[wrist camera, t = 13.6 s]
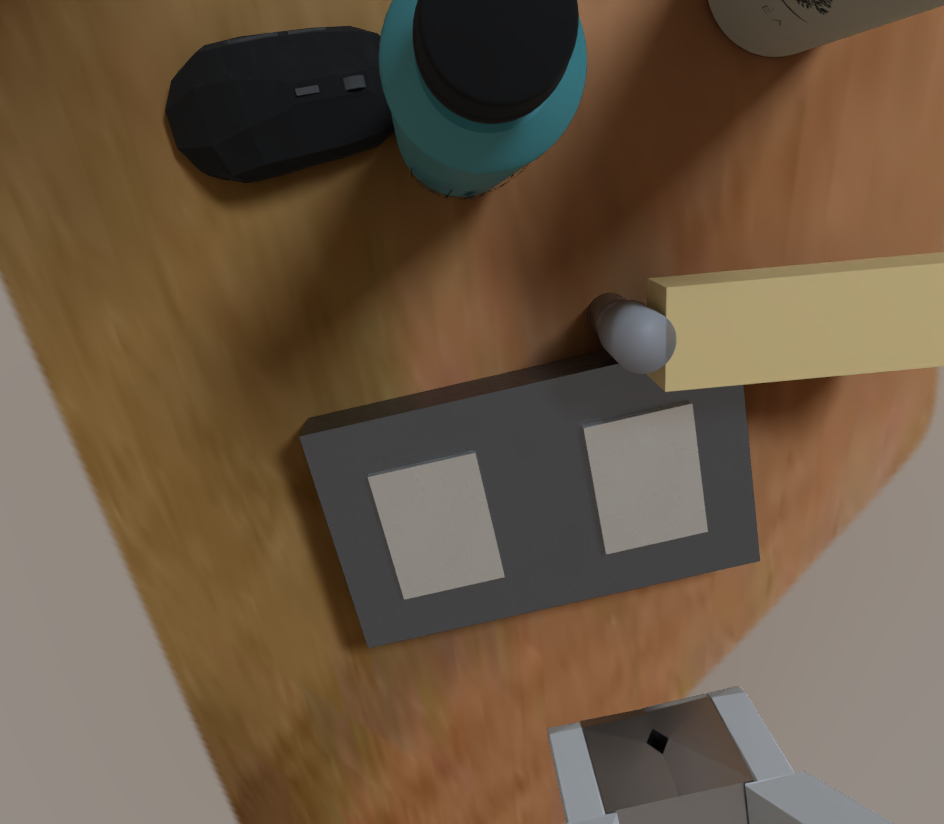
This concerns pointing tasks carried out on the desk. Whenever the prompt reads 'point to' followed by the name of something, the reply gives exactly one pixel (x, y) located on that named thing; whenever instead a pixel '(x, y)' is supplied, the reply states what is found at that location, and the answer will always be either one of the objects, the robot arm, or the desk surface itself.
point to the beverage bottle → (479, 86)
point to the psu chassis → (530, 492)
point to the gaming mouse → (279, 102)
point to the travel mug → (806, 21)
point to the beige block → (782, 323)
